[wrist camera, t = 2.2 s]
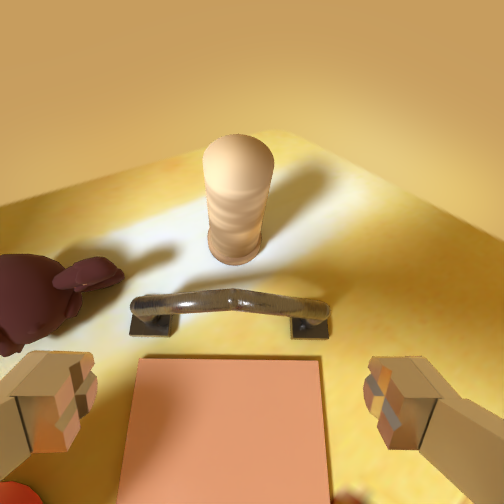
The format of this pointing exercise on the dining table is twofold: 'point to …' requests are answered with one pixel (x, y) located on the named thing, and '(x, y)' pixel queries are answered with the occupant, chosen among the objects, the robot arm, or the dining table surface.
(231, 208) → the birch post
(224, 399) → the tile
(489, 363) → the dining table surface
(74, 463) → the dining table surface
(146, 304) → the bent metal handle
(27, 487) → the beer can
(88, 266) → the icecream
